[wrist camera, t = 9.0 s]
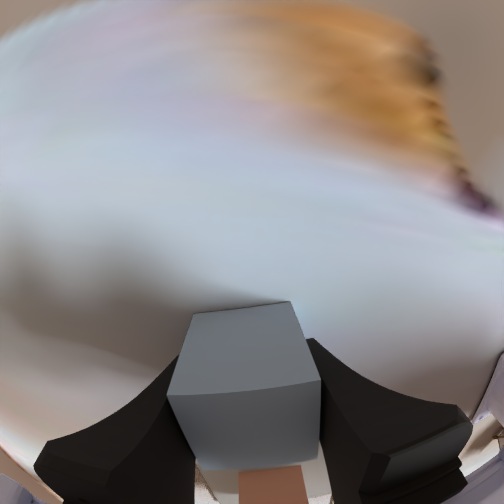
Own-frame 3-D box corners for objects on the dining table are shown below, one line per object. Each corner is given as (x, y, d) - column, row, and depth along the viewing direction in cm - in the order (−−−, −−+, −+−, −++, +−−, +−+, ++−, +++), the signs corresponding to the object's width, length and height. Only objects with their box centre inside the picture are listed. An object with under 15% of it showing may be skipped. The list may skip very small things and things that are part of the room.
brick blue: (290, 301, 11) (320, 379, 6) (295, 376, 12) (317, 458, 7) (193, 313, 11) (166, 395, 6) (212, 385, 12) (202, 469, 7)
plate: (339, 432, 13) (341, 438, 13) (330, 489, 16) (331, 493, 15) (191, 449, 13) (191, 455, 13) (221, 501, 16) (221, 506, 15)
